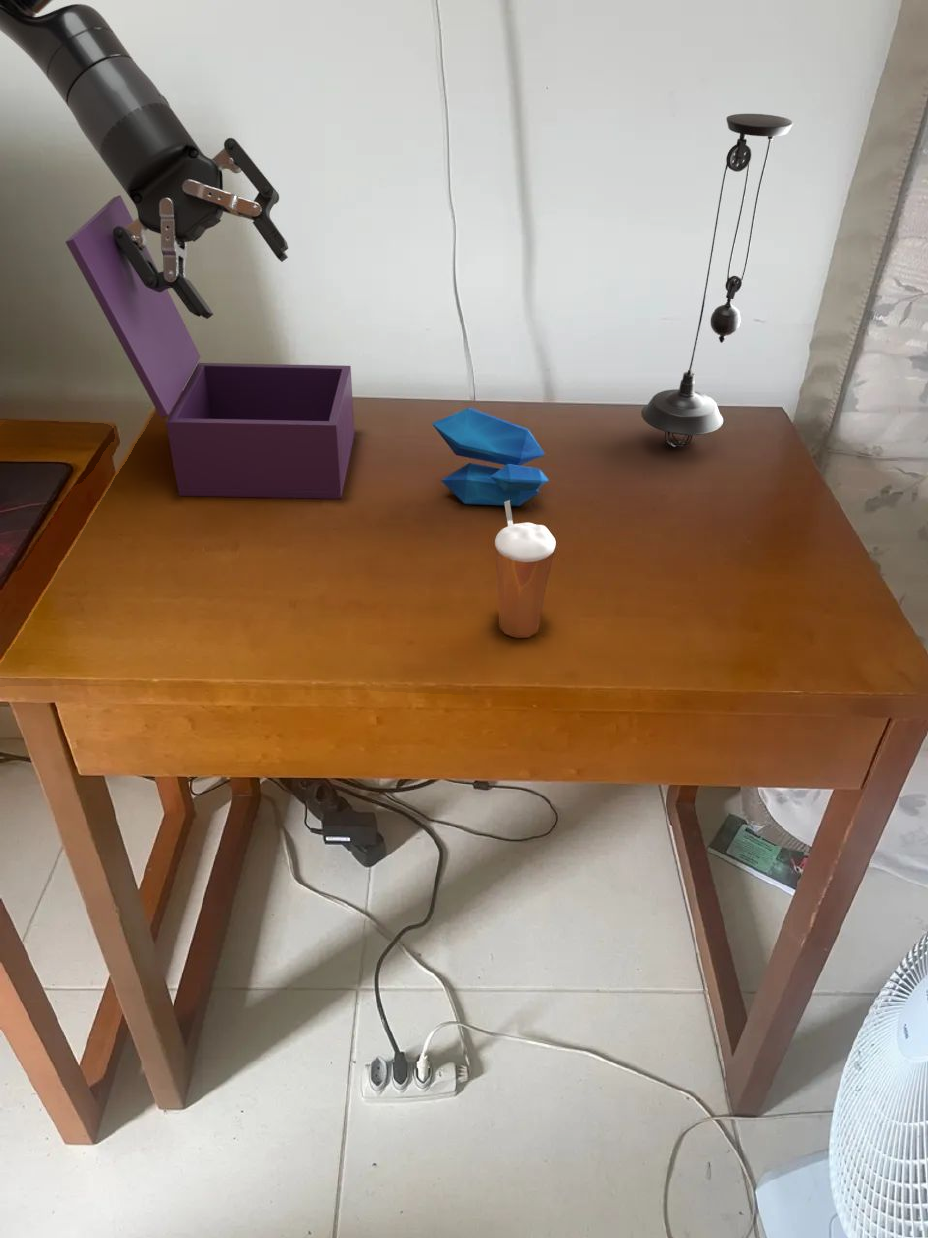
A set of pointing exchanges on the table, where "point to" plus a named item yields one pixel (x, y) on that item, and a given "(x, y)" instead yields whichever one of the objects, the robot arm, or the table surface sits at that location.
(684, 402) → the light fixture
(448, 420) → the gemstones
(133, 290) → the lid
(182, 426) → the box
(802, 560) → the table surface
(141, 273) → the robot arm
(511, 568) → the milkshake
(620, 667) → the table surface
